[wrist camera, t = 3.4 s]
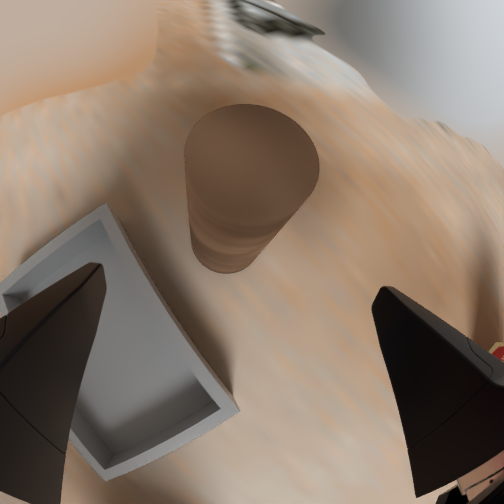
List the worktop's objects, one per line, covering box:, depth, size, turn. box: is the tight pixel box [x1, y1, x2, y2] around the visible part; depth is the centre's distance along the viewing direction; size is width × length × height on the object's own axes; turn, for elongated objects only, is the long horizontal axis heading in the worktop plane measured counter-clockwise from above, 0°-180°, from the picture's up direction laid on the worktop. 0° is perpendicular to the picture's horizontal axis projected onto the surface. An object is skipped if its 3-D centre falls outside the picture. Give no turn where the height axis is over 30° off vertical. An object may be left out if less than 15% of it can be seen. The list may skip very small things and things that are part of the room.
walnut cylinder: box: [185, 104, 319, 274], centre depth 15 cm, size 5×5×11 cm
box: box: [0, 203, 240, 482], centre depth 15 cm, size 11×15×4 cm
